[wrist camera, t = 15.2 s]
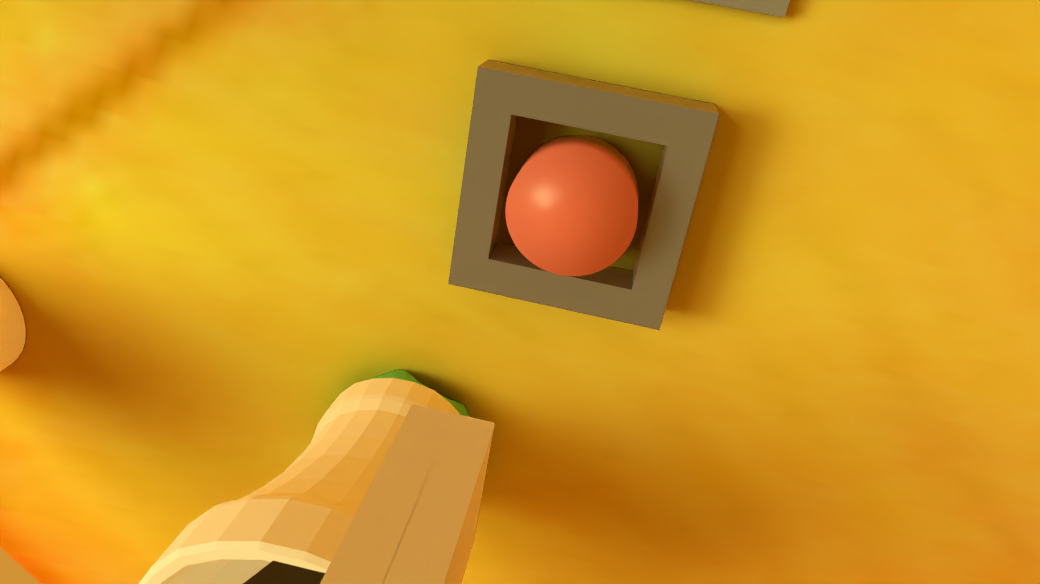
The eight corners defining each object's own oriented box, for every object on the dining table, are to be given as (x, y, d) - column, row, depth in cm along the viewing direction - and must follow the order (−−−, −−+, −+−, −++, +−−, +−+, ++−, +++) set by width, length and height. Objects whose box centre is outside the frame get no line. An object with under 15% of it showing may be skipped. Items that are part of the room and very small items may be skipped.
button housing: (459, 266, 34) (448, 283, 32) (488, 59, 30) (477, 66, 28) (659, 309, 33) (659, 330, 31) (714, 104, 29) (719, 113, 27)
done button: (507, 239, 32) (496, 261, 30) (526, 123, 30) (516, 137, 27) (623, 264, 32) (621, 288, 29) (651, 148, 29) (652, 164, 27)
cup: (257, 382, 38) (57, 600, 25) (438, 294, 34) (313, 496, 21) (378, 545, 41) (255, 811, 28) (556, 480, 37) (508, 752, 25)
